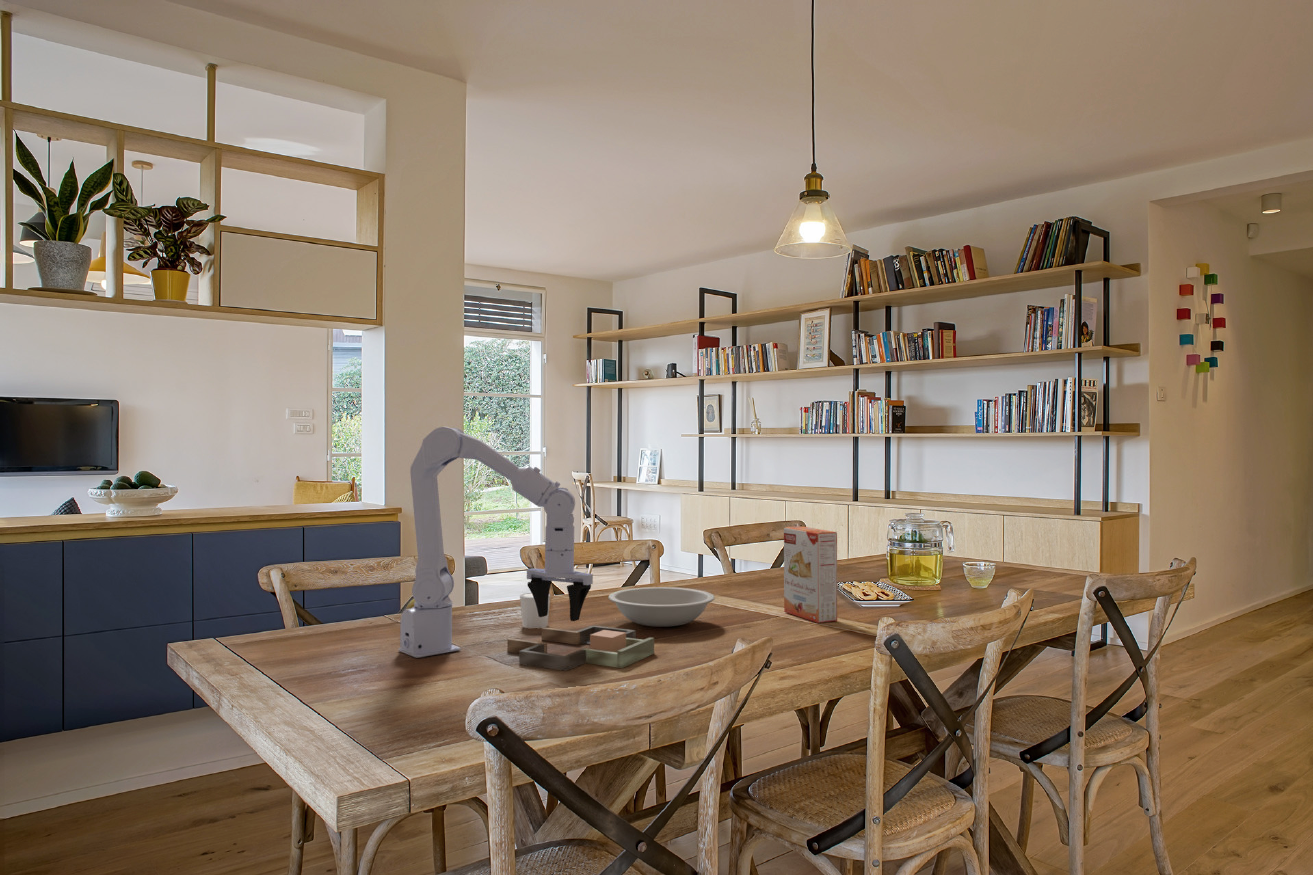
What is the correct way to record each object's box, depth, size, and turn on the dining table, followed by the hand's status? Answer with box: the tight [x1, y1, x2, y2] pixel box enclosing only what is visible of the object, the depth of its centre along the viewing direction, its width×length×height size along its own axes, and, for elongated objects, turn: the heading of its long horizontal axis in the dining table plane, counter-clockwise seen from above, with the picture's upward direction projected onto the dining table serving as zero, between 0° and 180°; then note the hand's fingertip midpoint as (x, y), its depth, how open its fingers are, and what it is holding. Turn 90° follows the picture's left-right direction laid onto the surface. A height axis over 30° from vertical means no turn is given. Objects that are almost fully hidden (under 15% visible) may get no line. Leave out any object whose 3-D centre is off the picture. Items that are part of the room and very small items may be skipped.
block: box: [589, 630, 626, 653], centre depth 162 cm, size 5×5×4 cm
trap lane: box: [506, 625, 655, 672], centre depth 165 cm, size 26×25×3 cm
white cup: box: [519, 592, 551, 629], centre depth 189 cm, size 7×7×7 cm
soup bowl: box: [608, 586, 716, 628], centre depth 191 cm, size 24×24×7 cm
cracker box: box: [783, 525, 838, 624], centre depth 200 cm, size 14×6×21 cm, turn 25°
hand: (558, 618), depth 167 cm, fingers open, 7 cm apart
